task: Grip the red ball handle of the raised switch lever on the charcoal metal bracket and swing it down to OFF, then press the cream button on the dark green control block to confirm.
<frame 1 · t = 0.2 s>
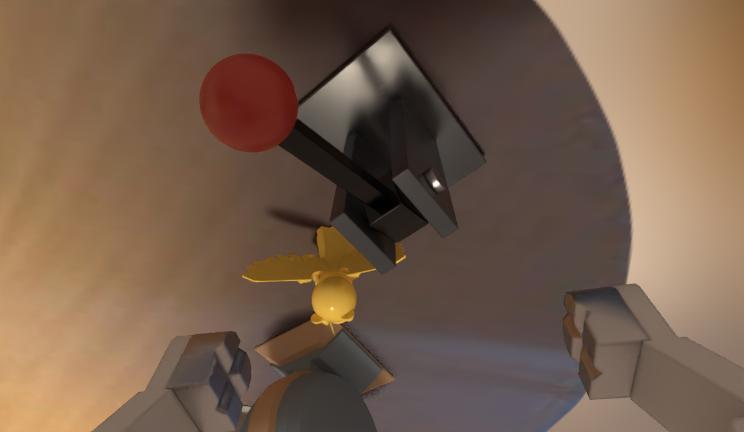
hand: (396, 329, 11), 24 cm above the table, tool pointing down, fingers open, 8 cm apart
figurine: (346, 263, 40), on the table
switch bracket: (391, 132, 33), on the table
alarm clock: (326, 361, 48), on the table
switch lever: (331, 163, 20), point 13 cm above the table, hinge at 25.0°
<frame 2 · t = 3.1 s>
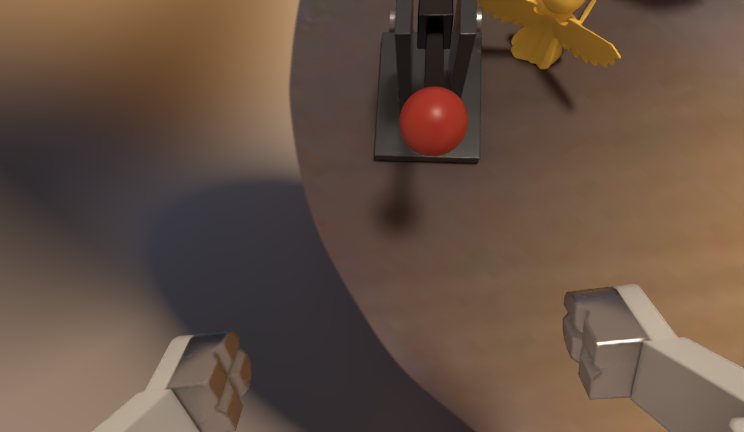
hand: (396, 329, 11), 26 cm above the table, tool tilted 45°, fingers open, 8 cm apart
figurine: (551, 25, 40), on the table
switch bracket: (428, 98, 40), on the table
switch lever: (434, 67, 26), point 13 cm above the table, hinge at 25.0°
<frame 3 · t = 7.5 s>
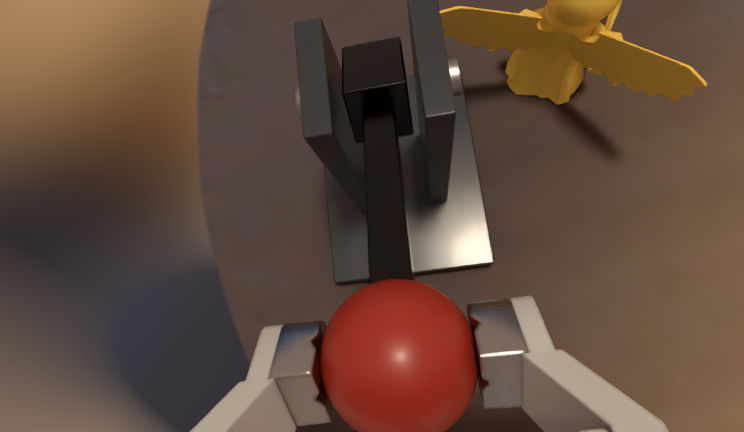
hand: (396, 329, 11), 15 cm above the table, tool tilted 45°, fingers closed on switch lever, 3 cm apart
figurine: (558, 36, 27), on the table
switch bracket: (400, 177, 27), on the table
switch lever: (386, 198, 13), point 13 cm above the table, hinge at 25.0°, touching gripper
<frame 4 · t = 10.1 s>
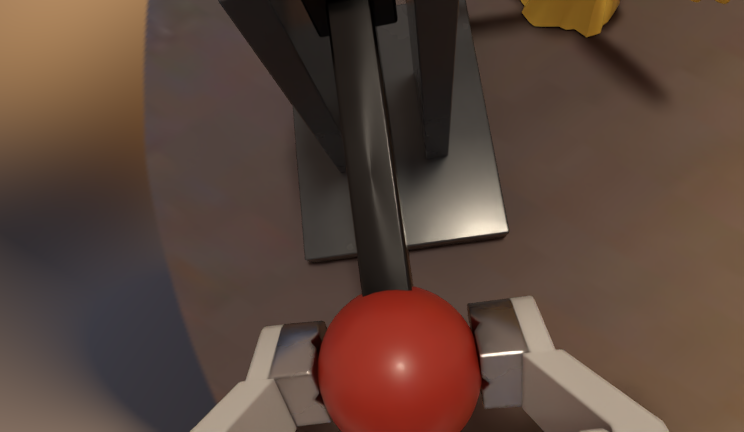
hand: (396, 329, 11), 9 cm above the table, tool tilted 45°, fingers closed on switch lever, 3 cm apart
switch bracket: (390, 130, 21), on the table
switch lever: (370, 157, 10), point 10 cm above the table, hinge at -6.9°, touching gripper
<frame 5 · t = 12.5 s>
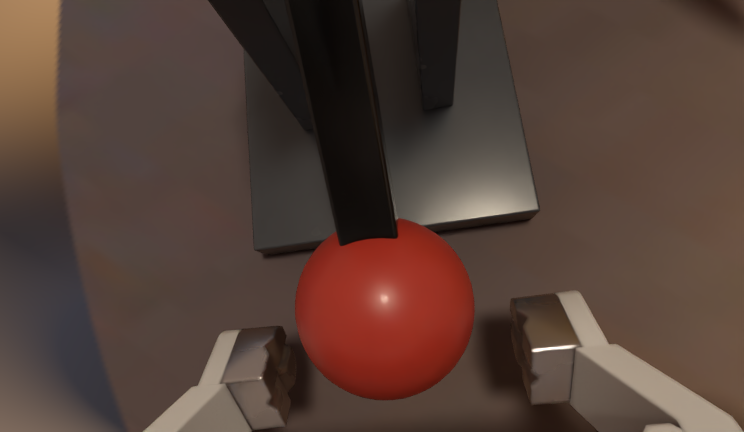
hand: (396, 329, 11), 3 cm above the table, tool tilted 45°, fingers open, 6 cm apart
switch bracket: (374, 77, 16), on the table
switch lever: (336, 59, 7), point 8 cm above the table, hinge at -34.2°
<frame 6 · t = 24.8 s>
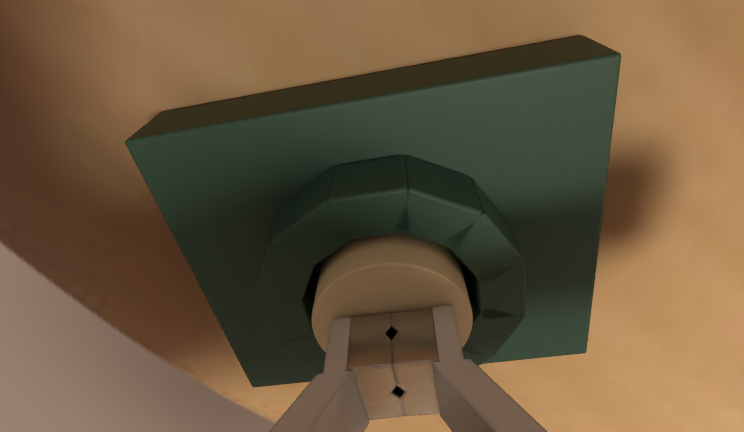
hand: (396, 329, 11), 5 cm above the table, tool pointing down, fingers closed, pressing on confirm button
control block: (389, 222, 15), on the table
confirm button: (391, 301, 12), point 4 cm above the table, slide at -0.6 cm, touching gripper
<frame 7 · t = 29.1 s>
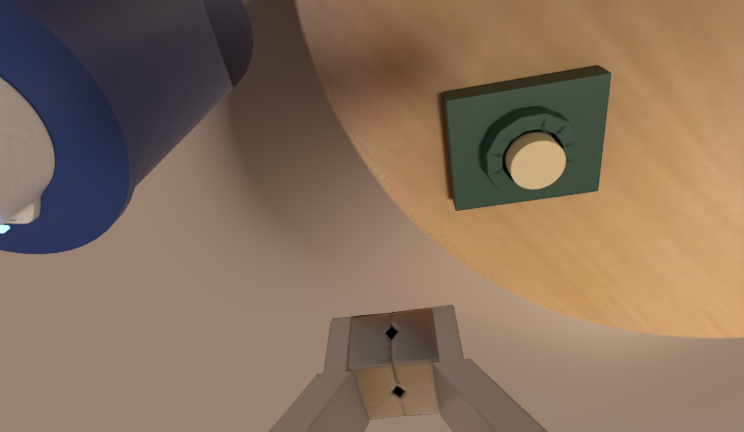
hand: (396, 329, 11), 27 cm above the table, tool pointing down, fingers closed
control block: (519, 137, 37), on the table
confirm button: (534, 160, 33), point 4 cm above the table, slide at 0.1 cm
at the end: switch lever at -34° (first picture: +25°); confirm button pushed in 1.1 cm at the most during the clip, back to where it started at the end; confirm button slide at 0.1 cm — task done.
